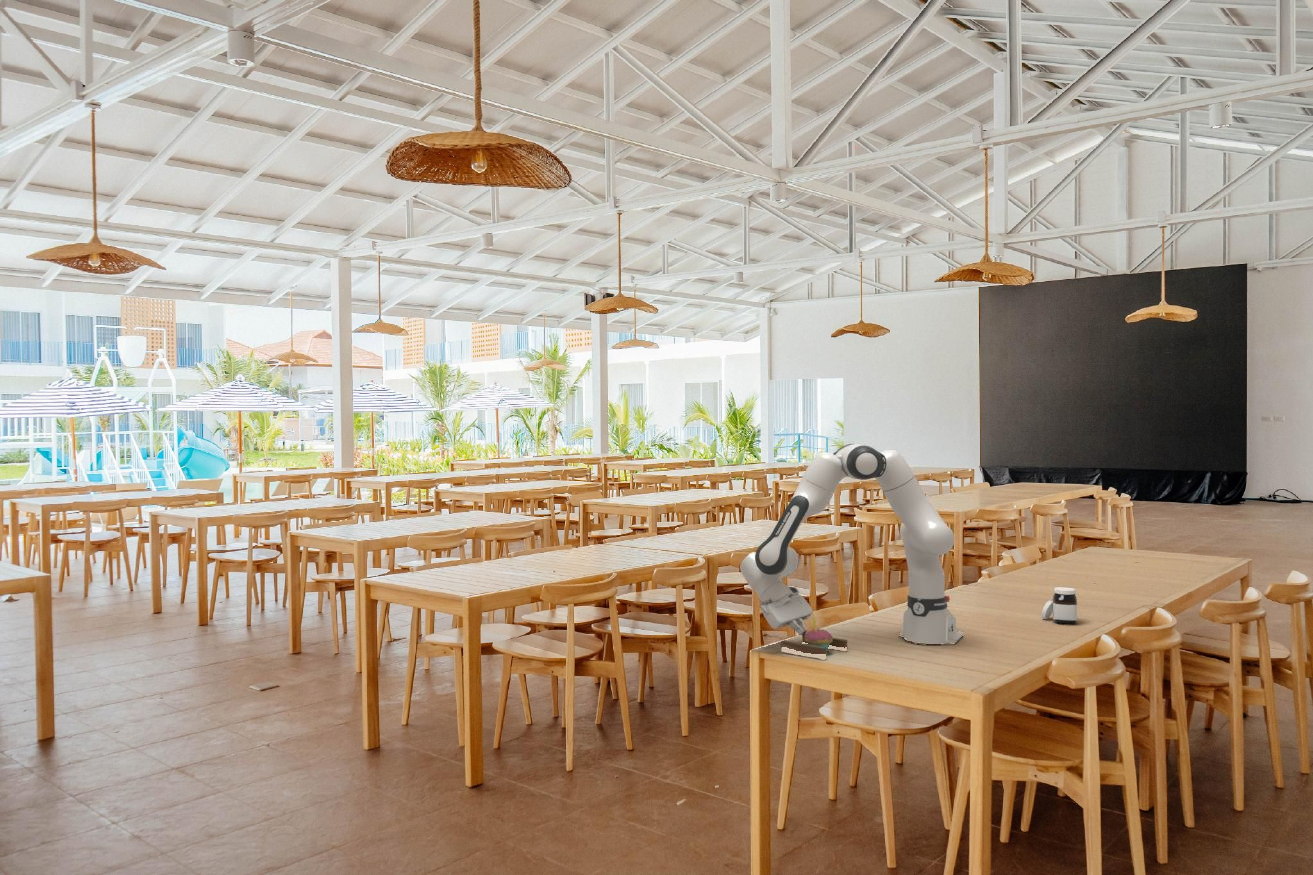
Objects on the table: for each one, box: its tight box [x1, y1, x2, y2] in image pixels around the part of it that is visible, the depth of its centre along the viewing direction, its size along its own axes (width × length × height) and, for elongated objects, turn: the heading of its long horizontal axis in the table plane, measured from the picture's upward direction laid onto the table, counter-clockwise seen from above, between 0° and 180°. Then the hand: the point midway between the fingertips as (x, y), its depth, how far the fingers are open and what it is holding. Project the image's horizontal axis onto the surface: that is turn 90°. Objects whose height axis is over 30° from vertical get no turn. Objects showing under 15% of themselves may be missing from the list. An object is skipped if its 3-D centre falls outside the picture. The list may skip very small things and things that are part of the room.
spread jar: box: [1040, 586, 1078, 625], centre depth 335 cm, size 12×11×12 cm
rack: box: [780, 632, 848, 654], centre depth 296 cm, size 14×15×4 cm
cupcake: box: [805, 614, 834, 650], centre depth 295 cm, size 9×8×12 cm
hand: (804, 633), depth 298 cm, fingers closed
